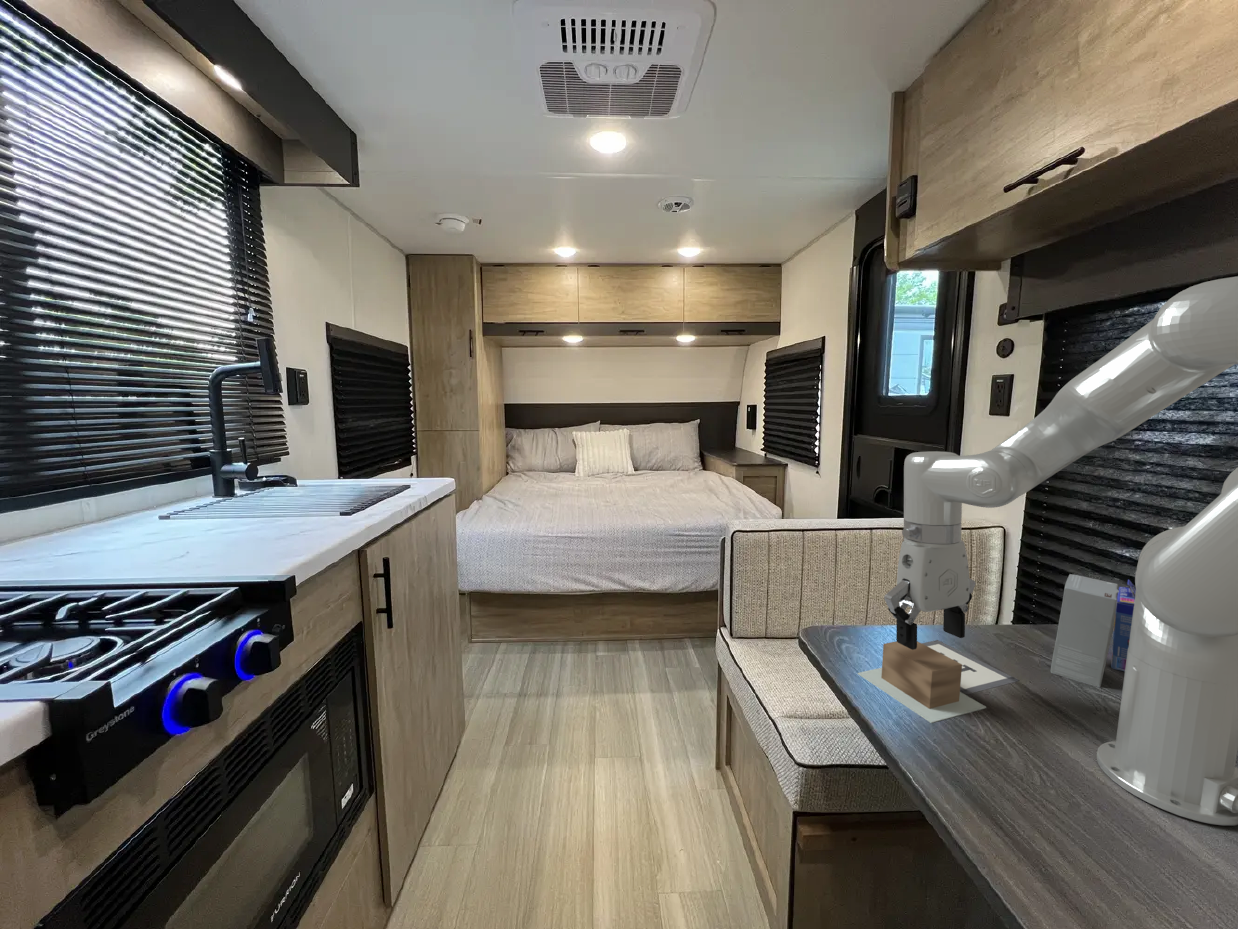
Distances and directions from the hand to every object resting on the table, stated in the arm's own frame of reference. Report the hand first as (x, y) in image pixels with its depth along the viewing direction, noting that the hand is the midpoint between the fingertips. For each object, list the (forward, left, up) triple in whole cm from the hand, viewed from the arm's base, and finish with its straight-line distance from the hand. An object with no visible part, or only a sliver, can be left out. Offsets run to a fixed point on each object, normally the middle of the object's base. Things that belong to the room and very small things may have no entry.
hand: (930, 640), depth 80 cm
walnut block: (+1, 0, -9) cm, 9 cm away
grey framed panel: (+5, -11, -9) cm, 15 cm away
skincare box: (-4, -29, -9) cm, 31 cm away
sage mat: (+1, +1, -9) cm, 9 cm away
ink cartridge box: (-5, -41, -9) cm, 43 cm away
